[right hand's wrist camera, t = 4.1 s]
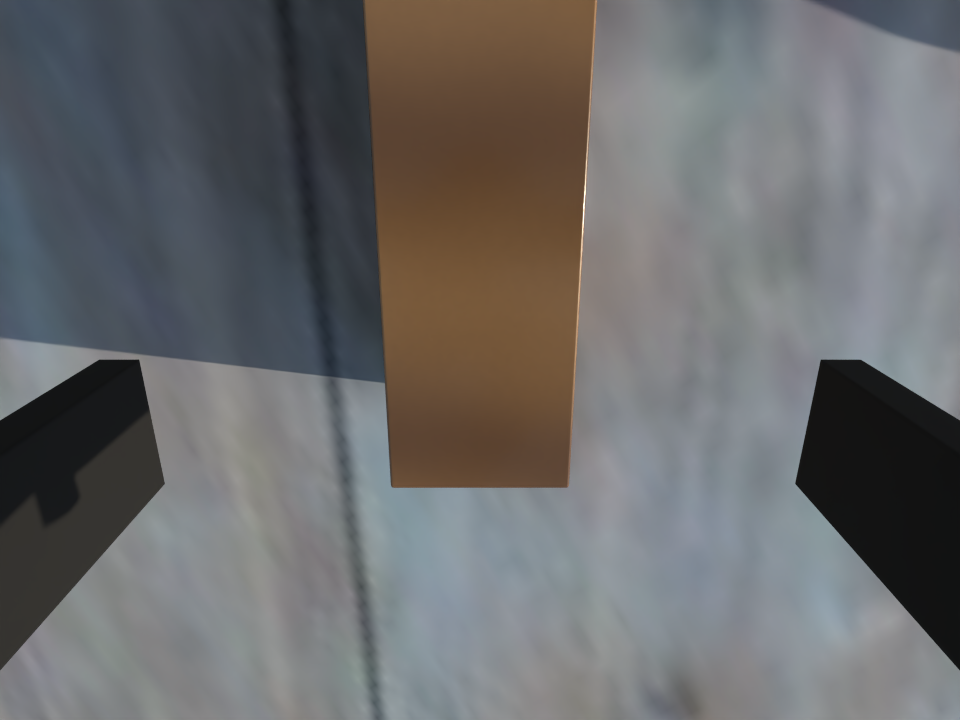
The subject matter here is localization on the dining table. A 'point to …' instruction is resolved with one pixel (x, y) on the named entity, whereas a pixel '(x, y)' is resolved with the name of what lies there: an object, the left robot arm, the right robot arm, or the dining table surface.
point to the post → (479, 232)
